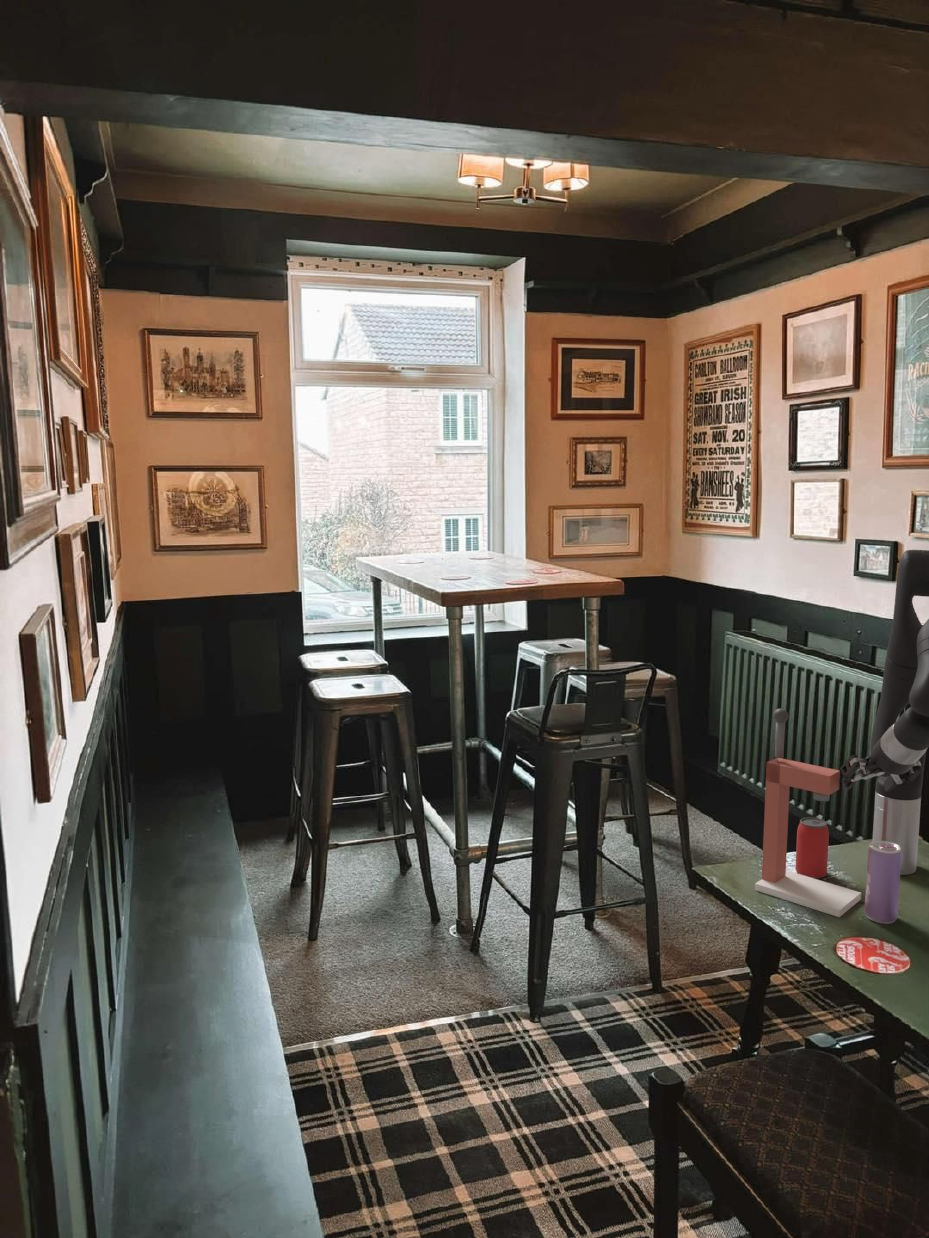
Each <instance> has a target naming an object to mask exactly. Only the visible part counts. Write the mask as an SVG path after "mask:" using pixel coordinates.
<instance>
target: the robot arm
mask: <svg viewBox="0 0 929 1238" xmlns="http://www.w3.org/2000/svg"><path fill="white" fill-rule="evenodd" d="M914 597H929V550H927V549H908V550H905V551H904V552H903V553H902V554H901V556H900V558H899V562H898V567H897V575H896V585H895V596H894V605H893V607H894V609H893V615H892V616H893V619H892V624H891V629H890V633H889V634H890V635H889V639H888V644H887V648H886V653H885V654H886V655H885V661H884V667H883V674H882V675H883V677H882V687H881V692H880V699H879V703H878V707H877V711H876V716H875V720H874V723H873V727H872V731H871V737H870V754H869V756H866V757H865V758H860V757H859V756H858V754H852V755H850V757H848V759H847V760H845V762H844V763H843V764H842V765H841V767H840V772H841V774H842V784H843V787H844V788H845V790H851V789H852V787H853V786H854V785H855V784H856V783H857V782H858V781H860V780H868V779H872V778H874V777H878V778H876V779H877V780H875V781H876V782H875V793H874V794H875V796H874V811H873V813H874V814H873V825H872V826H873V828H872V829H873V830H872V842H873V841H887V842H891V843H894V844H896V845H898V846H899V847H900V848H901V850H900V851H901V870H900V876H903V875H905V876H906V875H908V876H909V875H912V874H914V873H915V872H916V871H917V862H918V849H919V835H920V834H919V833H920V821H921V820H920V817H921V805H922V803H921V801H922V790H923V783H924V782H923V781H924V771H925V765H926V764H925V763H926V757H927V750H928V748H929V618H928V619H927V620H926V621H925V623H923V624H922V623H921V621H920V619H919V617H918V615H917V612H916V610H915V607H914V604H913V600H914V599H913V598H914ZM908 705H910V707H908ZM906 707H908V708H907V709H905V708H906ZM904 709H905V711H904V712H903V710H904ZM902 712H903V713H902ZM901 713H902V714H901ZM899 716H900V717H899ZM865 768H866V769H867V771H868V773H867V772H866V769H865ZM856 772H859V774H856Z"/></svg>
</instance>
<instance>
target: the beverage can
mask: <svg viewBox="0 0 929 1238" xmlns="http://www.w3.org/2000/svg"><path fill="white" fill-rule="evenodd" d="M867 849H868V850H867V863H866V864H867V866H866V878H865V879H866V880H865V881H866V883H865V894H864V895H865V898H864V914H865V916H866V918H868V919H869V920H870V921H872V922H874V923H879V924H883V925H885V924H886V925H889V924H893V923H895V922H896V920H898V915H899V914H898V911H899V902H900V900H899V897H900V886H901V885H900V882H901V875H900V870H901V851H900V850H901V848H900V847H899V846H898V845H896V844H894V843H891V842H887V841H873V840H872V841H871V842H869V846H868V848H867Z"/></svg>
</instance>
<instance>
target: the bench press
mask: <svg viewBox="0 0 929 1238" xmlns="http://www.w3.org/2000/svg"><path fill="white" fill-rule="evenodd" d="M772 717H773V719H774V721H775V734H774V735H775V736H774V738H775V739H774V758H773V759H771V760H768V761H767V762H766V764H765V765H766V768H765V769H766V771H765V792H764V795H765V796H764V814H763V815H764V820H763V822H764V823H763V839H762V844H763V845H762V867H761V879H760V880H758V881H757V882H755V884H754V890H755V891H756V892H760V893H762V894H765V895H769V896H771V897H775V898H778V899H780V900H785V901H787V902H791V903H794V904H797V905H801V906H802V907H806V908H808V909H809V908H810V909H812V910H815V911H818V912H822V913H825V914H828V915H832V916H834V917H837V918H841V916H843V915H844V914H845V913H846V912H848V911H849V910H850V909H851V908H852V907H854V906H855V905H856V904H857V903H859V902H860V901H861V900H862V892H860V891H857V890H854V889H850V888H847V887H844V886H841V885H836V884H833V883H831V882H827V881H824V880H820V879H818V878H811V877H807V876H804V875H801V874H799V873H797V872H794V871H790V870H787V853H788V852H787V849H788V834H789V833H788V831H789V830H788V829H789V805H790V787H791V788H795V789H800V790H805V791H808V792H813V800H815V801H818V802H829V801H830V796H831V795H833V794H834V793H836V792H837V791H839V790H840V782H841V781H840V777H841V770H839V769H834V768H829V767H824V766H820V765H814V764H810V763H805V762H801V761H797V760H796V761H795V760H791V759H786V758H784V752H785V751H784V749H785V734H786V733H785V731H786V722H787V720H788V719H789V712H788V711H787V710H786V709H784V708H777V709H775V710H774V711H773V714H772Z"/></svg>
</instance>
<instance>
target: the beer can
mask: <svg viewBox="0 0 929 1238" xmlns="http://www.w3.org/2000/svg"><path fill="white" fill-rule="evenodd" d="M796 830H797V831H796V851H795V871H796V873H797V874H801V875H804V876H807V877H811V878H814V879H822V878H824V877H826V876H827V874H828V864H829V863H828V858H829V840H830V837H829V836H830V832H829V828H828V823H827V822H826V821H825V820H823V819H821V818H818V817H802V818H801V819H800V820H799V824H798V826H797V829H796Z"/></svg>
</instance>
